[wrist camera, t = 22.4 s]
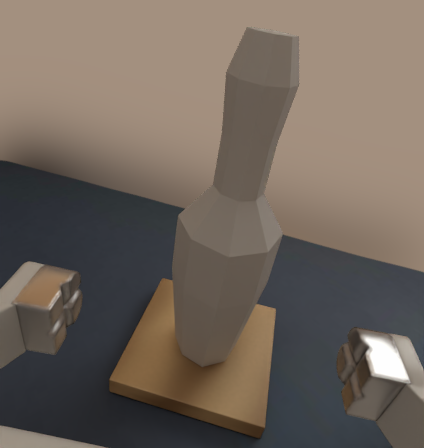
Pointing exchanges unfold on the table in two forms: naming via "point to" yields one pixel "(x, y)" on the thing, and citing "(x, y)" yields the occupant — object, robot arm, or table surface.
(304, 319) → the table surface
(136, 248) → the table surface
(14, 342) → the robot arm
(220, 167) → the low poly bottle
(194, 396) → the coaster
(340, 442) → the table surface
